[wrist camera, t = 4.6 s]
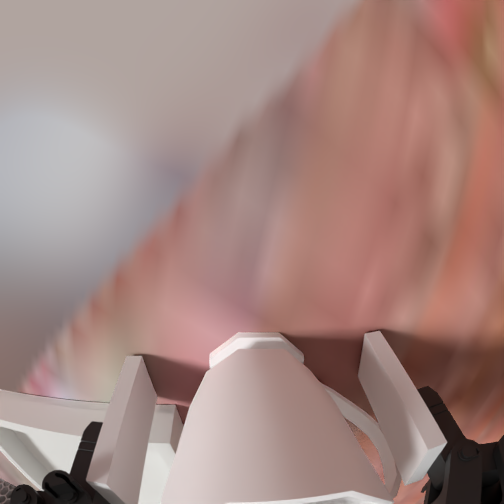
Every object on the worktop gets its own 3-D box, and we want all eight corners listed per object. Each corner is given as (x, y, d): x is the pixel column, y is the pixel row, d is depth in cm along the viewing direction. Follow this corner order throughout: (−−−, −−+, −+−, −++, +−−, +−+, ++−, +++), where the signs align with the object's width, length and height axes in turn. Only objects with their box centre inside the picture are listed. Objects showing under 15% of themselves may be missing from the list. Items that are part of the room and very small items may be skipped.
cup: (211, 276, 12) (195, 479, 4) (404, 346, 14) (483, 472, 7) (159, 392, 14) (134, 543, 7) (328, 432, 16) (362, 549, 9)
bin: (-19, 385, 14) (-34, 408, 12) (175, 404, 14) (169, 443, 12) (74, 494, 20) (69, 514, 18) (221, 509, 20) (221, 533, 18)
